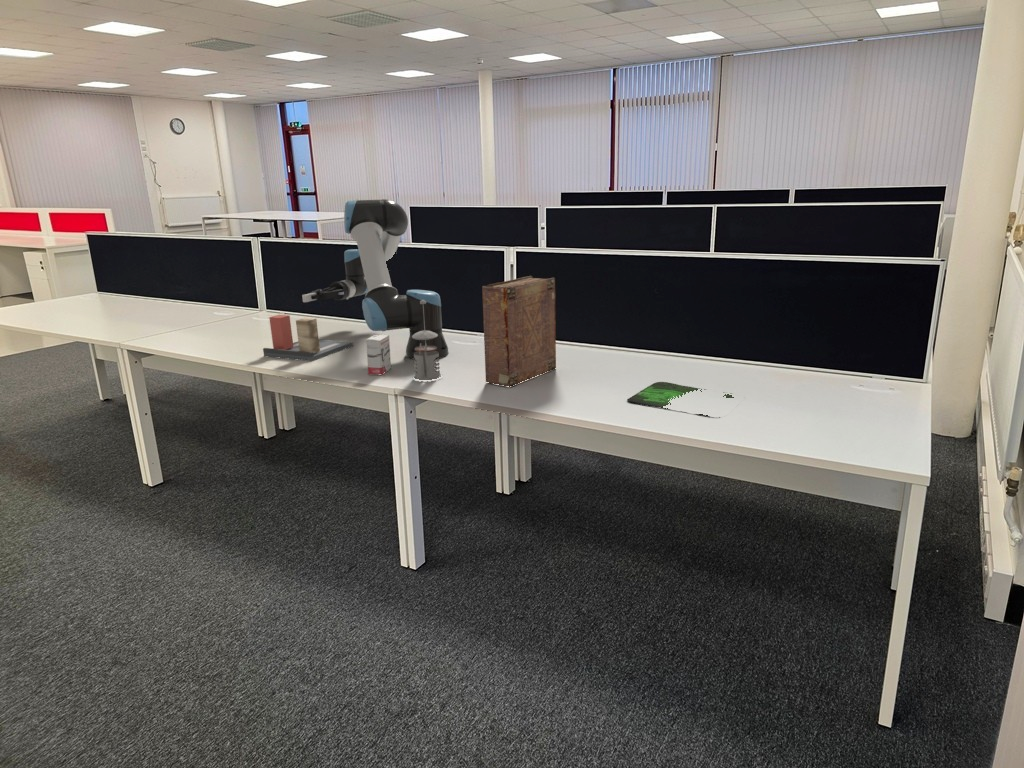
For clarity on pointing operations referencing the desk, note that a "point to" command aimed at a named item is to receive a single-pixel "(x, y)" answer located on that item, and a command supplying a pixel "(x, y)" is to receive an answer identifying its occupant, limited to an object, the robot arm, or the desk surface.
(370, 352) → the ink box
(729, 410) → the desk surface
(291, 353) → the track board
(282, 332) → the red slider
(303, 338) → the birch slider
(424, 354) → the french press
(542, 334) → the book
